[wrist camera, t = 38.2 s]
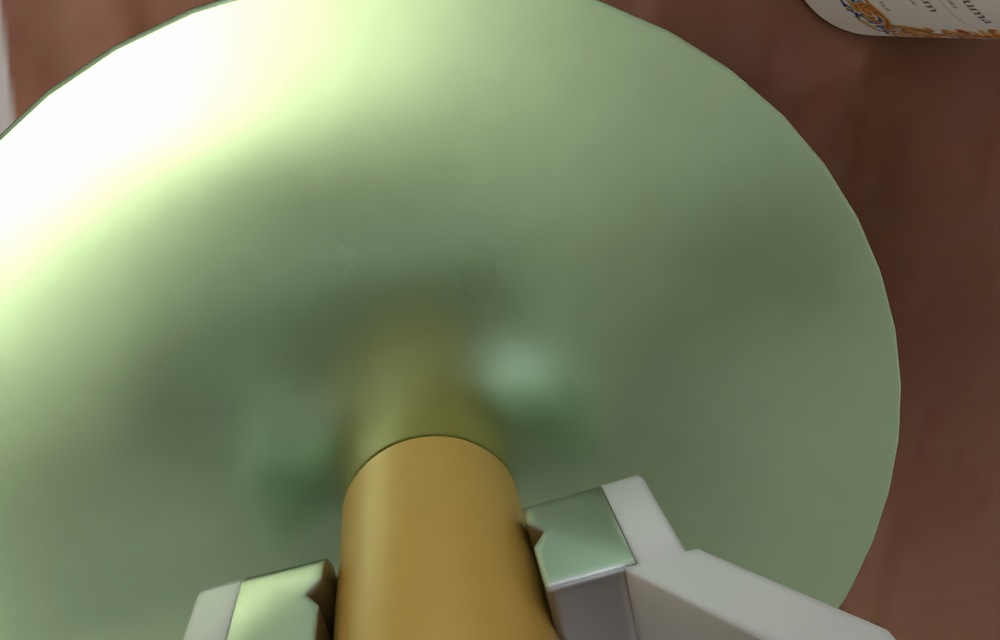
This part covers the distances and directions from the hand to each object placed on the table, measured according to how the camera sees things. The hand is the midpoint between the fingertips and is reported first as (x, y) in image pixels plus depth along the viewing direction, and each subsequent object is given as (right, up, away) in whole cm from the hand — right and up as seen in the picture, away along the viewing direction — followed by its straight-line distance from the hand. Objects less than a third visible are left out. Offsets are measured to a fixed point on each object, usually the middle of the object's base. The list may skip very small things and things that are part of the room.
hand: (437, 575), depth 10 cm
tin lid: (0, +1, +2) cm, 2 cm away
